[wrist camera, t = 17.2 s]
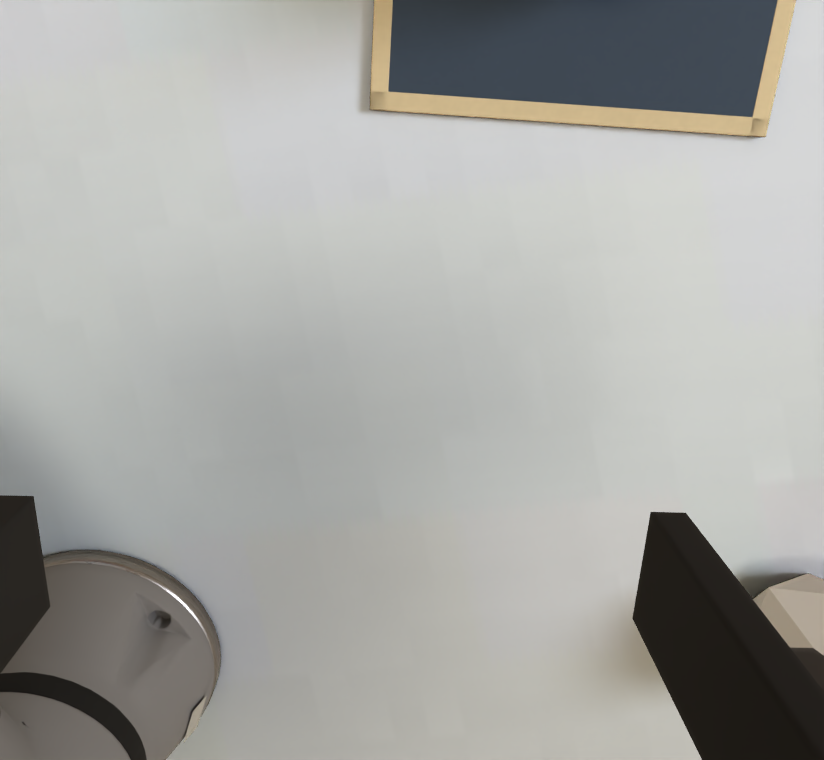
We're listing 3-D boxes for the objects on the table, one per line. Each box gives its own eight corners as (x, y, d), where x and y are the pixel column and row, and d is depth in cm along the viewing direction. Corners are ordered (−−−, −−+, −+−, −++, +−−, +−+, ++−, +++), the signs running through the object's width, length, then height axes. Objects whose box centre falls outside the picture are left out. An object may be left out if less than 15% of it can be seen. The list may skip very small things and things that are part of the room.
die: (739, 679, 48) (906, 772, 40) (678, 672, 42) (858, 779, 35) (782, 562, 48) (956, 632, 41) (727, 541, 43) (916, 617, 35)
